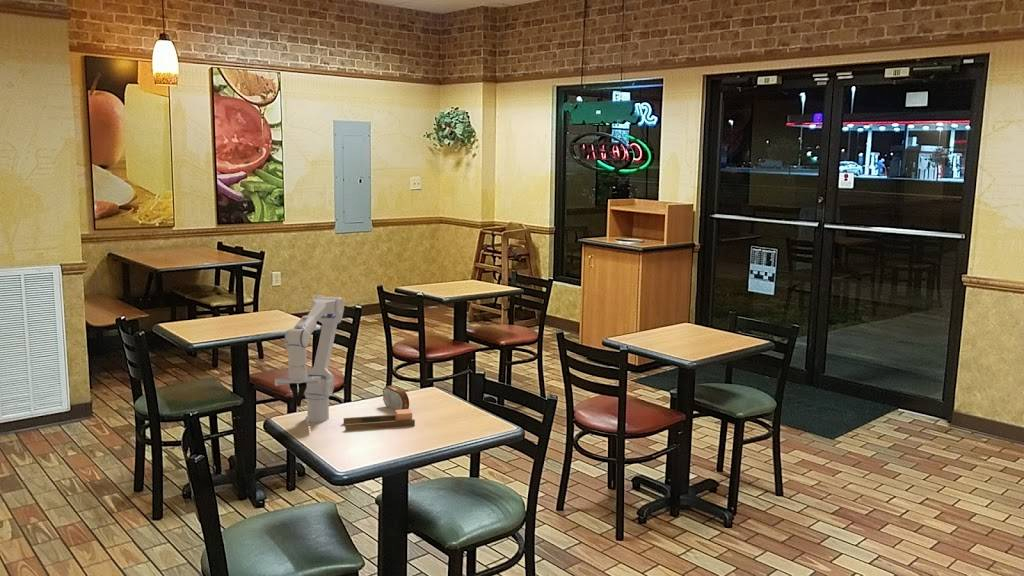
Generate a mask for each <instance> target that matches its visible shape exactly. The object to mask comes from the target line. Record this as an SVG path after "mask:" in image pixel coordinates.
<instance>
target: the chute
mask: <svg viewBox="0 0 1024 576" xmlns="http://www.w3.org/2000/svg"><path fill="white" fill-rule="evenodd" d="M415 424H416V420H415V419H413V418H412V419H411V420H397V421H395V414H383V415H382V414H381V415H369V416H367V415H366V416H356V417H355V416H353V417H352V416H351V417H343V426H344V429H345V432H348V431H362V430H363V431H364V430H377V429H378V430H379V429H387V428H388V429H389V428H390V429H391V428H402V427H405V428H406V427H415V426H416V425H415Z"/></svg>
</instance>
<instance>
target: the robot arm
mask: <svg viewBox="0 0 1024 576" xmlns="http://www.w3.org/2000/svg"><path fill="white" fill-rule="evenodd" d="M344 312H345V303H344V299H343V298H342V297H341V296H337V297H336V296H335V297H334V296H320V295H316V296H314V298H313V299H312V301H311V309H310V311H309V312H308V314H307V315H303V316H302V317H301V318H300V320H298V321H297V323H296V324H295V325H294V327H293V328H292V327H291V328H289V329H287V330H286V332H285V334H284V340H283V341H284V345H285V347H286V348H285V350H286V352H287V354H288V355H287V356H288V358H287V361H288V376H287V377H281V378H280V377H279V378H274V386H275V387H278V386H288V385H289V390H290V392H291V393H292V395H293V397H294V401H295V406H296V407H301V406H302V400H303V396H304V398H306V406H307V407H306V409H307V413H306V416H305V421H306V425H307V426H311V422H312V423H322V422H325V421H328V420H329V419H330V417H329V416H330V410H329V407H330V405H329V400H330V399H329V398H330V397H331V395H333V393H334V389H335V388H334V387H335V376H334V374H333V373H332V372H331V371H329V367H330V361H331V356H332V351H333V346H334V342H335V337H336V333H337V326H338V324H340V323H341V322H342V320H343V315H344ZM317 322H319V323H321V330H320V335H319V340H318V345H317V349H316V352H315V353H316V354H315V358H314V363H313V367H312V368H310V369H309V370H308V369H307V368H308V367H307V365H308V364H307V362H308V361H307V358H308V357H307V346H308V345H309V343H310V339H311V335H312V334H313V333H314V331H315V329H316V328H317V325H318V324H317Z"/></svg>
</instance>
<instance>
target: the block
mask: <svg viewBox="0 0 1024 576" xmlns="http://www.w3.org/2000/svg"><path fill="white" fill-rule="evenodd" d="M394 411H395V414H394V415H395V421H397V420H411V419H413V412H412V410H411V408H409V409H402V410H398V409H395V410H394Z"/></svg>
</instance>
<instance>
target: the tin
mask: <svg viewBox="0 0 1024 576" xmlns="http://www.w3.org/2000/svg"><path fill="white" fill-rule="evenodd" d="M382 399H383V400H382V401H383V402H384V405H385V406H386V408H393V409H395V410H402V409H410V399H409V396H408V394H407V392H406V391H405V390H404V389H403V388H399V387H397V386H395V385H392V384H391V385H387V386H385V387H383V390H382Z"/></svg>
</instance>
